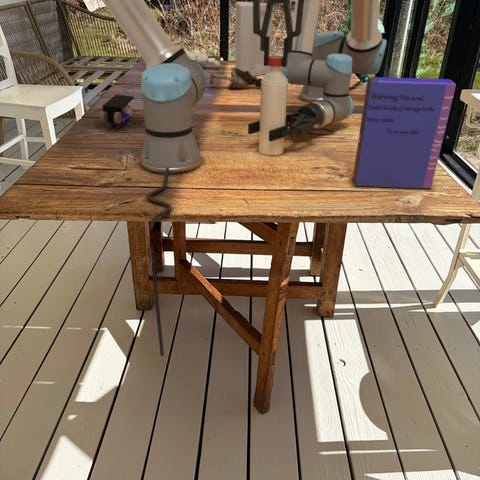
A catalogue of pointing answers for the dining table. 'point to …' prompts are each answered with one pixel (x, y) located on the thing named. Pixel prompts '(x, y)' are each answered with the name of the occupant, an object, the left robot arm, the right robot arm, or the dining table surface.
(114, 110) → the figurine character
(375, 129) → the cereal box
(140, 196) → the dining table surface
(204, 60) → the toy
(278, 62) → the cap
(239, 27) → the tall white box
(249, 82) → the figurine
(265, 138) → the bottle
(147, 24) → the left robot arm
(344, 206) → the dining table surface
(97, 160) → the dining table surface
